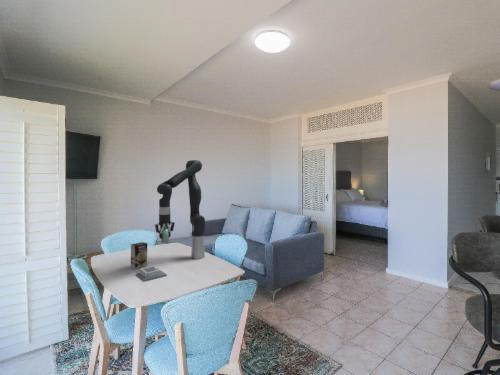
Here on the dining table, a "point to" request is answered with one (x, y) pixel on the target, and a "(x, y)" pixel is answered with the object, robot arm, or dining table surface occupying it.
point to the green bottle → (165, 235)
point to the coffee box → (138, 255)
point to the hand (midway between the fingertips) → (164, 237)
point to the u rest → (150, 273)
